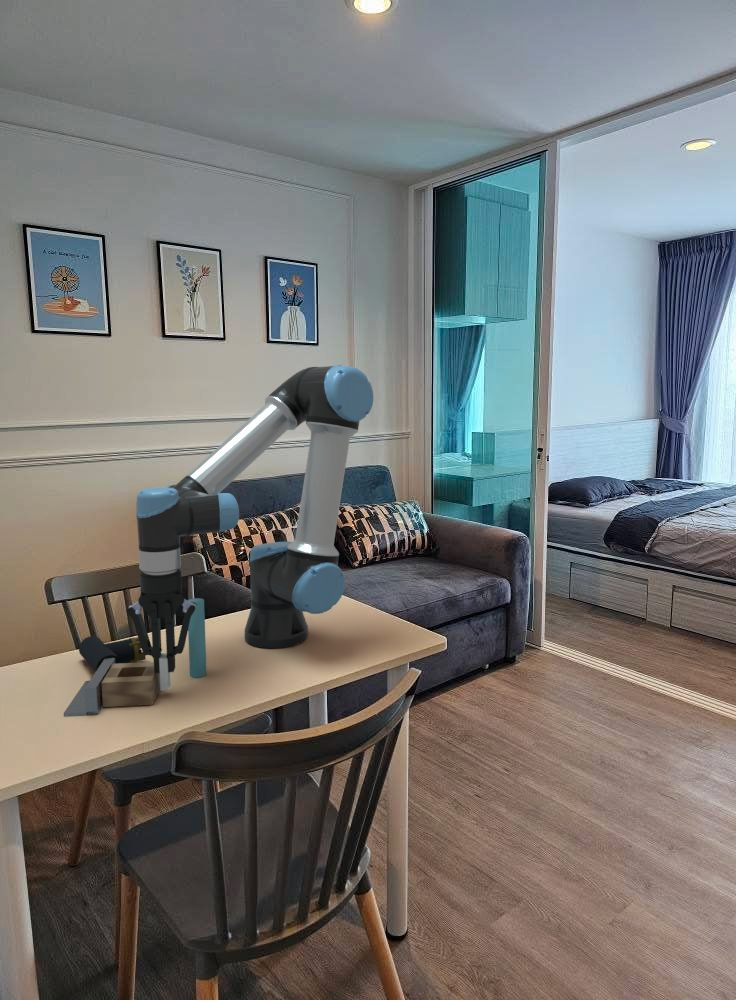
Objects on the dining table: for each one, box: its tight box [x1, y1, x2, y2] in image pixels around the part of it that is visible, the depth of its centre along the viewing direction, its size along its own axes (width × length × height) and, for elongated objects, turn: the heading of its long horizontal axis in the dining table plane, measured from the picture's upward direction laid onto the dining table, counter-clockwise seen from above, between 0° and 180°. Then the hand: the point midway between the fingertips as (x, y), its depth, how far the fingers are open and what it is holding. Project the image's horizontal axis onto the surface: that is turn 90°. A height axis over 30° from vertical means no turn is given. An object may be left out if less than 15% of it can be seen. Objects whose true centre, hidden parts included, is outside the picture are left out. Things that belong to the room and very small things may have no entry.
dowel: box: [187, 597, 208, 679], centre depth 141 cm, size 3×3×16 cm
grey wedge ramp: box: [63, 658, 115, 717], centre depth 131 cm, size 6×14×5 cm, turn 7°
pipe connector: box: [78, 635, 147, 673], centre depth 146 cm, size 12×5×15 cm
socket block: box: [101, 661, 161, 708], centre depth 131 cm, size 9×9×5 cm
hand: (165, 687), depth 132 cm, fingers closed
